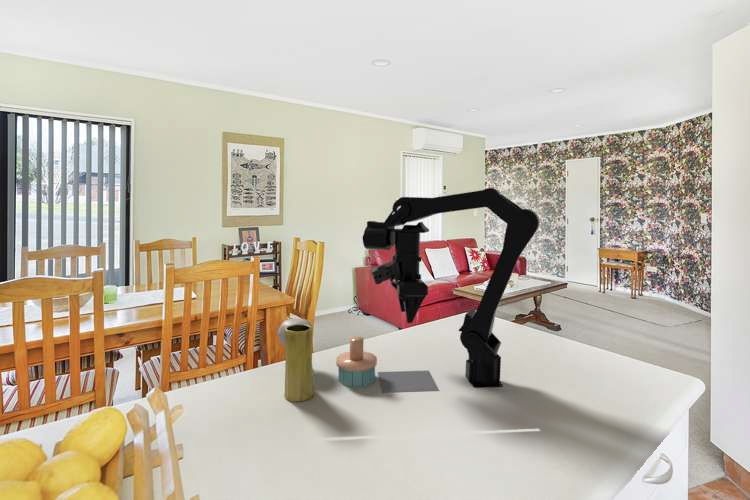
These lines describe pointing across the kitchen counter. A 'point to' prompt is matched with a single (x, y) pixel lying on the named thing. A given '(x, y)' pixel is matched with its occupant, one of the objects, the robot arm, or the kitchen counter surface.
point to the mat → (406, 381)
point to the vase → (298, 363)
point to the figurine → (287, 323)
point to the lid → (356, 357)
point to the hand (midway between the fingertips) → (406, 316)
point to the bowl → (356, 377)
